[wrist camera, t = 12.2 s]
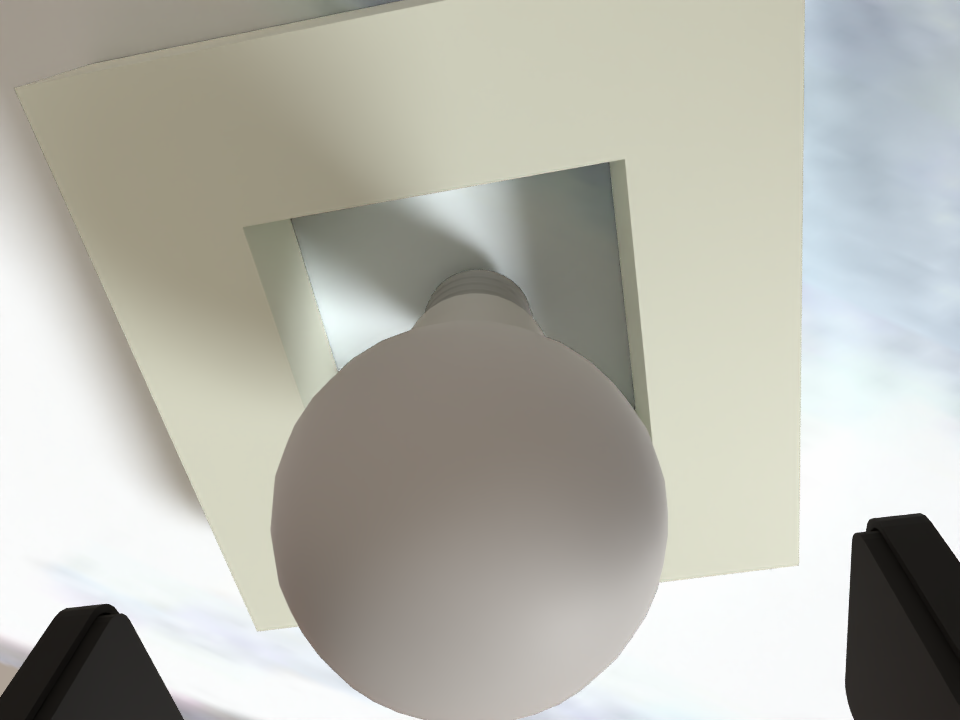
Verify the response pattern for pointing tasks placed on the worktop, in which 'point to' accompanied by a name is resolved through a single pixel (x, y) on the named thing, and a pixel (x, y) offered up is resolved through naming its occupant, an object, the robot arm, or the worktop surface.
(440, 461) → the lightbulb
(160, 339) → the socket block
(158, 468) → the worktop surface
